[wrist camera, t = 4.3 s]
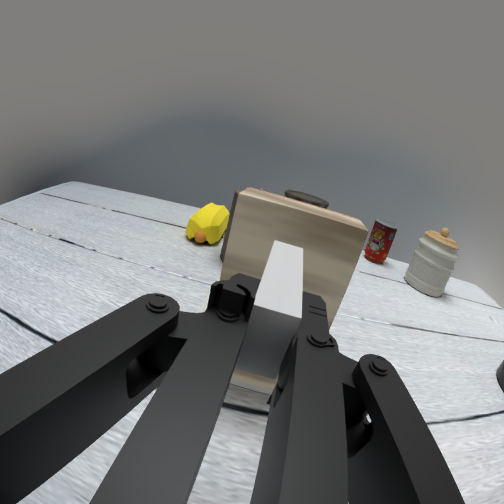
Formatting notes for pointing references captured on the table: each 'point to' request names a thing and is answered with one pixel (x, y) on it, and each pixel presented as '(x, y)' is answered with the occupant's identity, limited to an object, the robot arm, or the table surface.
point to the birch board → (297, 234)
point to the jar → (432, 263)
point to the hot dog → (208, 224)
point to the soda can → (380, 241)
